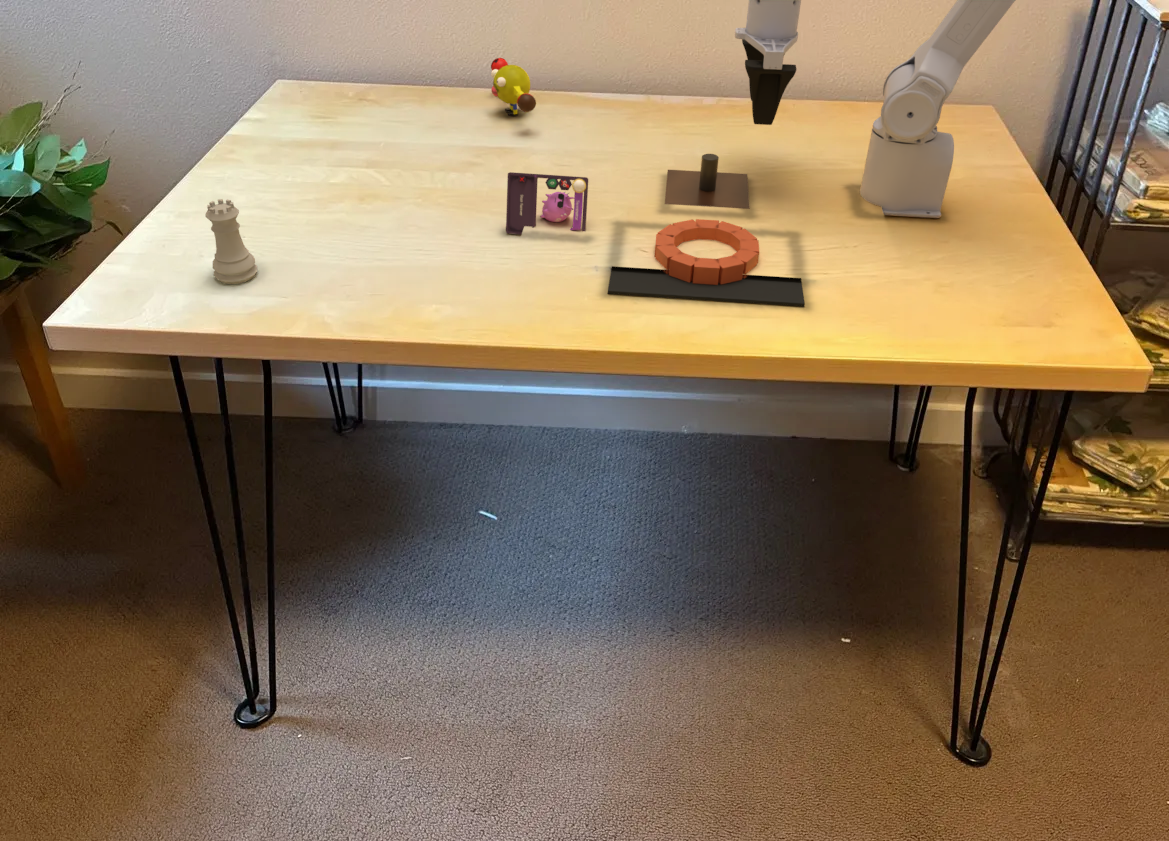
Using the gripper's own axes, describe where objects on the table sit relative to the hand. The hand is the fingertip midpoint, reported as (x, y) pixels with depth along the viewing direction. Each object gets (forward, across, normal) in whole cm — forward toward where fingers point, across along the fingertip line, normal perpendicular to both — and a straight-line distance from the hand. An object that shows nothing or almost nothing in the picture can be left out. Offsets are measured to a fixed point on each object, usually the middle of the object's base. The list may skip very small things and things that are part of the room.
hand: (761, 111), depth 116 cm
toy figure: (+10, -21, -33) cm, 40 cm away
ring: (+9, +21, -6) cm, 23 cm away
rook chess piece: (+10, +29, -55) cm, 63 cm away
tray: (+9, +21, -6) cm, 23 cm away
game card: (+10, +14, -24) cm, 29 cm away
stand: (+9, +4, -6) cm, 12 cm away
